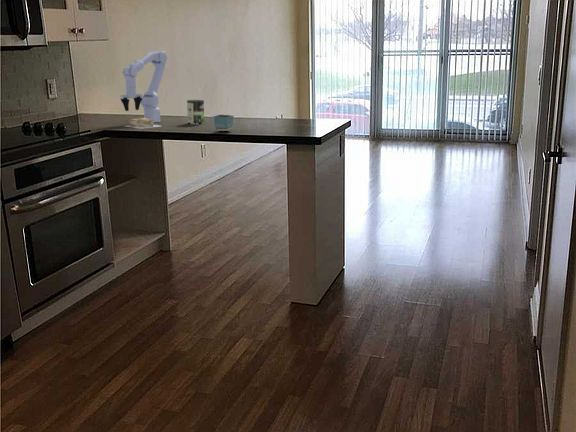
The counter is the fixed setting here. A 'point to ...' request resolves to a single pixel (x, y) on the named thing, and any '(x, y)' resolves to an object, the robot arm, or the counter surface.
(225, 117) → the flower pot
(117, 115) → the counter surface
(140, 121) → the t block
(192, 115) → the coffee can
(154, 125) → the mat
